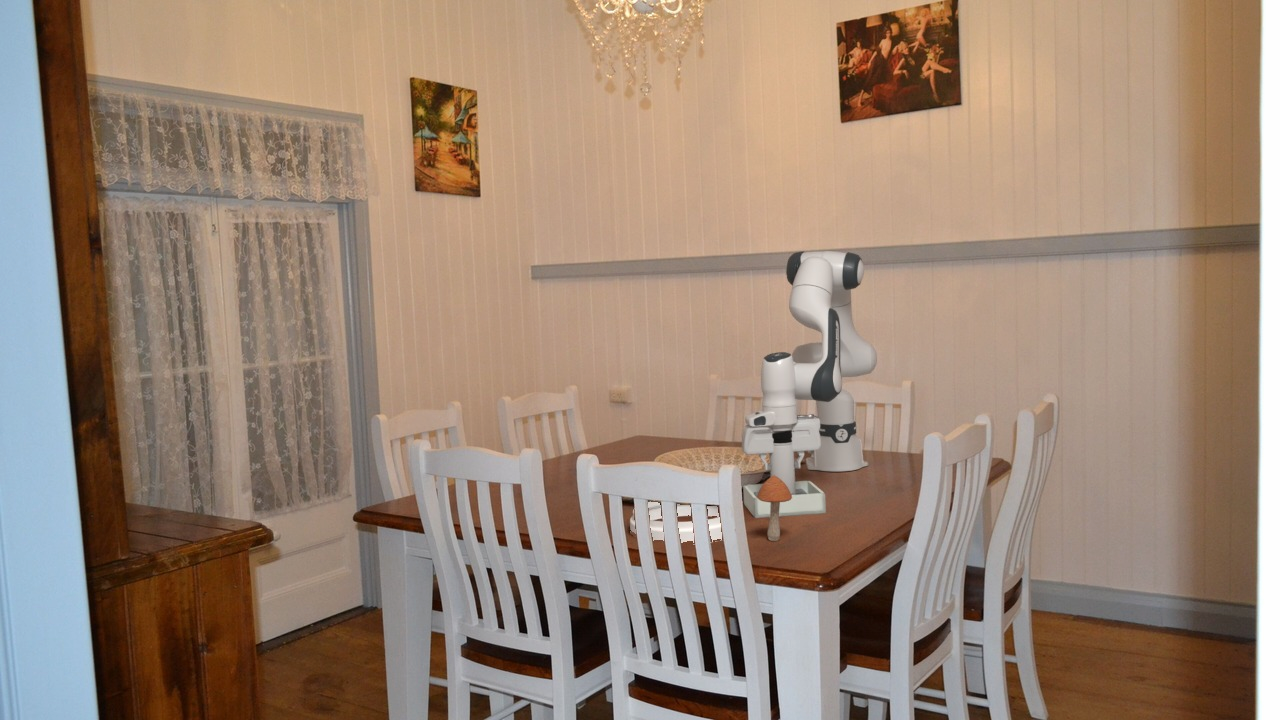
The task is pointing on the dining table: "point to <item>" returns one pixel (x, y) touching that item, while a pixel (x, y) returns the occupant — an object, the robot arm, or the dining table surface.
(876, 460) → the dining table surface
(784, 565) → the dining table surface
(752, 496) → the crate
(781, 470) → the travel mug
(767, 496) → the mushroom
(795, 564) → the dining table surface
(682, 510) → the plate
